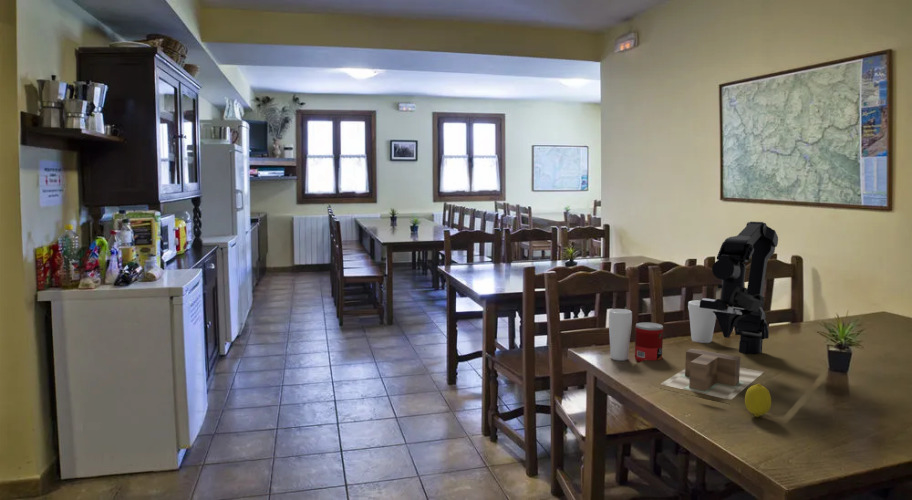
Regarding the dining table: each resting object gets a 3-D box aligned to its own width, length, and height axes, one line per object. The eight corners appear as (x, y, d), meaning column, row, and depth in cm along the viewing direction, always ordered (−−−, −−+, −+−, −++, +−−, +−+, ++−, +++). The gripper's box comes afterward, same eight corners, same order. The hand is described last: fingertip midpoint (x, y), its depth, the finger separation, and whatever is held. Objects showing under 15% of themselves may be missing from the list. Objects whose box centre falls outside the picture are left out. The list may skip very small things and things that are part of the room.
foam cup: (685, 336, 220) (687, 299, 219) (714, 337, 218) (716, 301, 216) (688, 343, 211) (689, 305, 210) (717, 345, 209) (719, 306, 207)
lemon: (739, 412, 149) (741, 380, 148) (761, 412, 150) (763, 379, 149) (752, 421, 144) (754, 388, 143) (775, 421, 144) (777, 387, 143)
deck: (699, 363, 188) (699, 359, 188) (763, 376, 176) (764, 371, 176) (659, 388, 166) (660, 384, 166) (730, 404, 155) (730, 399, 154)
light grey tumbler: (631, 356, 195) (632, 309, 194) (629, 362, 189) (631, 314, 187) (608, 354, 198) (610, 307, 196) (606, 360, 191) (608, 312, 189)
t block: (690, 372, 176) (691, 348, 175) (739, 382, 167) (740, 357, 166) (672, 384, 166) (673, 358, 165) (723, 395, 157) (724, 368, 157)
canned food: (663, 364, 187) (664, 328, 186) (635, 363, 189) (636, 327, 187) (660, 357, 195) (661, 322, 193) (633, 356, 196) (634, 321, 195)
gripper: (735, 280, 166) (728, 339, 166) (780, 288, 175) (773, 344, 174) (701, 278, 176) (694, 333, 175) (744, 285, 185) (738, 338, 184)
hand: (726, 337), depth 177 cm, fingers closed
